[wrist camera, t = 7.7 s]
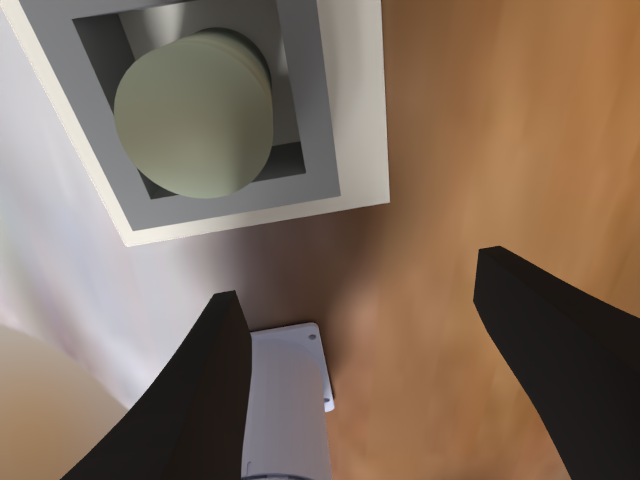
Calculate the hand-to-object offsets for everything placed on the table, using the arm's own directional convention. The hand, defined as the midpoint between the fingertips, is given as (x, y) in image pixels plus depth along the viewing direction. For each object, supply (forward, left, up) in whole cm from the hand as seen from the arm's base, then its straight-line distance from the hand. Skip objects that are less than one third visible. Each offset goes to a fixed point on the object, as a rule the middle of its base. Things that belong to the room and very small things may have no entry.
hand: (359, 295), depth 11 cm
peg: (+5, +4, -9) cm, 11 cm away
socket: (+5, +4, -9) cm, 11 cm away
